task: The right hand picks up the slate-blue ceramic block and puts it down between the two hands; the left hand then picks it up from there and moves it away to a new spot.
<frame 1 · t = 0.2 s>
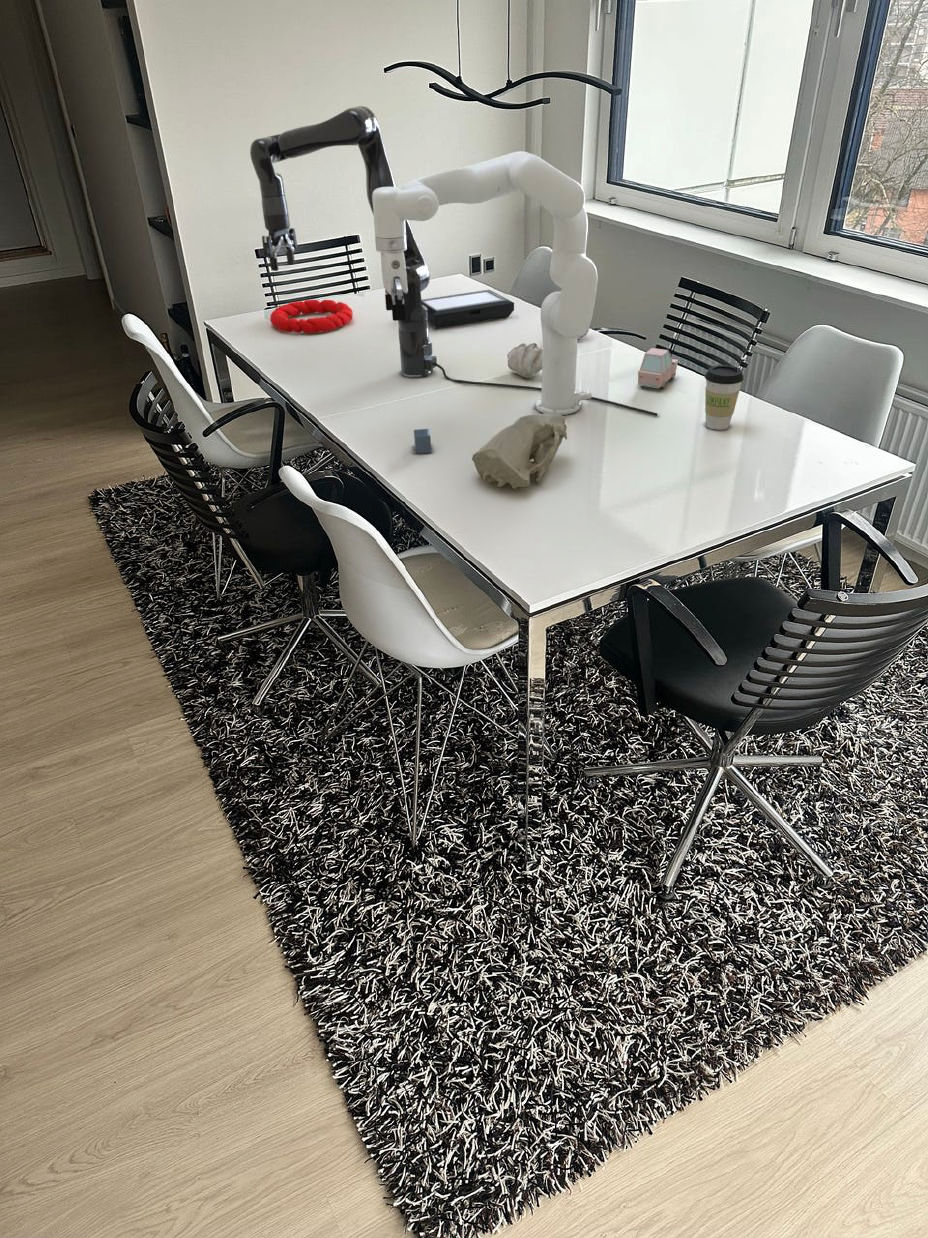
left hand: (283, 267, 280), 29 cm above the table, tool pointing down, fingers open, 8 cm apart
right hand: (395, 314, 227), 31 cm above the table, tool pointing down, fingers open, 9 cm apart
seashell: (528, 376, 276), on the table
decorative ring: (312, 323, 329), on the table
animal skull: (527, 471, 219), on the table
toy car: (656, 382, 268), on the table
block: (422, 449, 232), on the table
coffee cup: (717, 425, 240), on the table
electronic device: (463, 317, 329), on the table
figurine: (574, 337, 306), on the table
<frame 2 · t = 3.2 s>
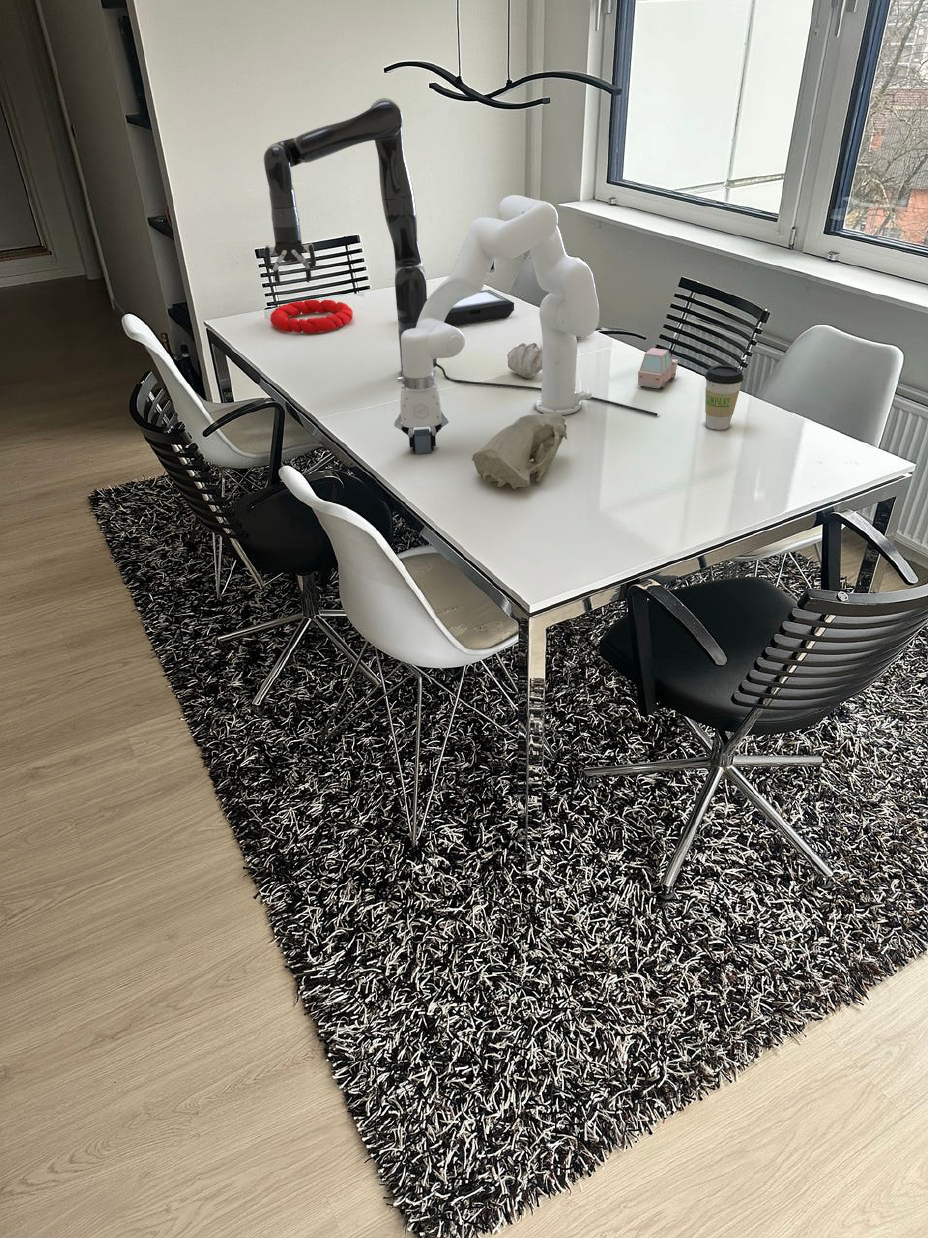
left hand: (293, 282, 262), 29 cm above the table, tool pointing down, fingers open, 8 cm apart
right hand: (422, 448, 232), 0 cm above the table, tool pointing down, fingers closed on block, 4 cm apart
block: (422, 449, 232), on the table, touching right hand
everything else where it was.
when the right hand's fingers open (1 cm above the table, at t = 6.2 s): block stays where it is, on the table.
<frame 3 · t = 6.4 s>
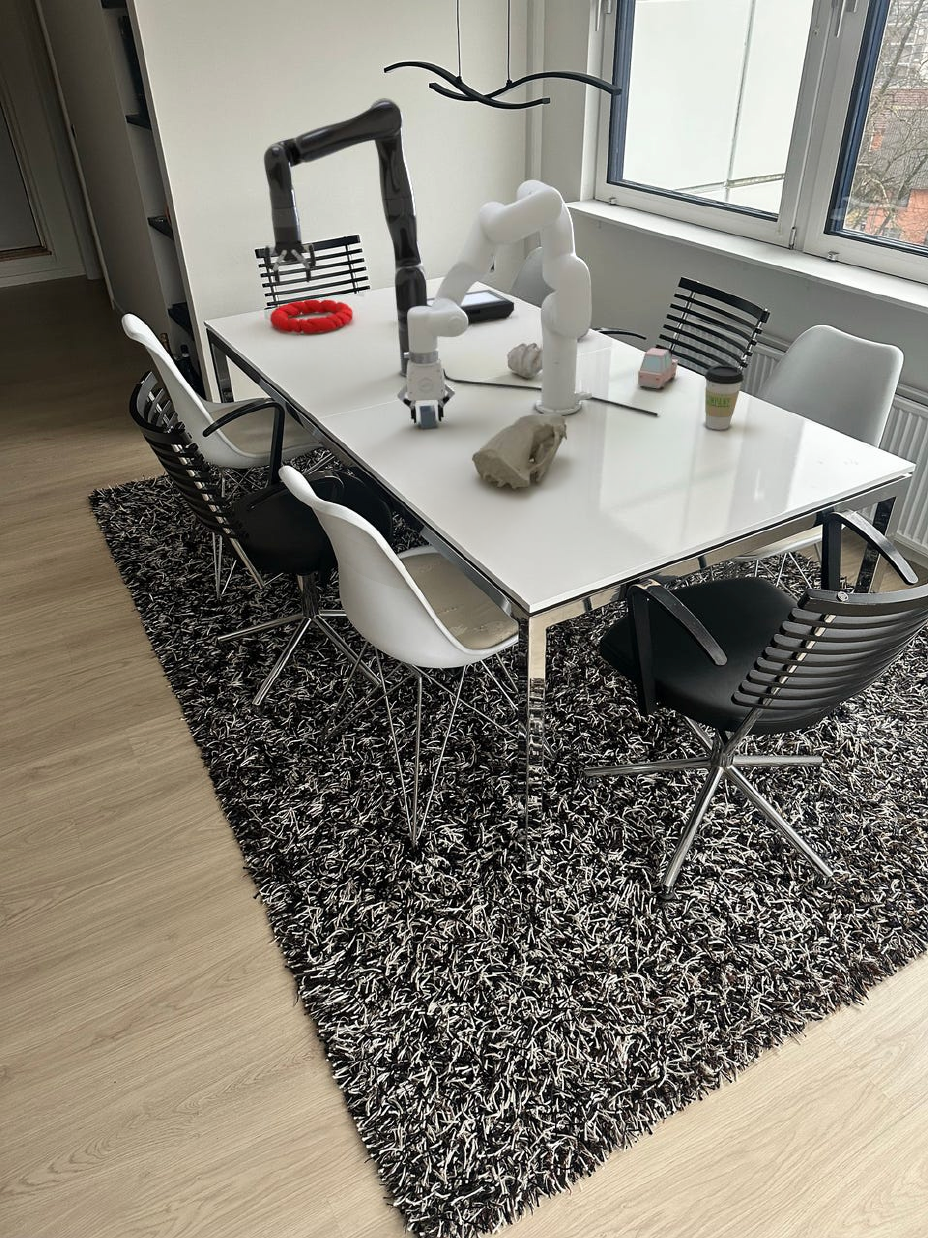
left hand: (293, 282, 262), 29 cm above the table, tool pointing down, fingers open, 8 cm apart
right hand: (427, 419, 245), 2 cm above the table, tool pointing down, fingers open, 6 cm apart
block: (428, 425, 246), on the table
everything else where it was.
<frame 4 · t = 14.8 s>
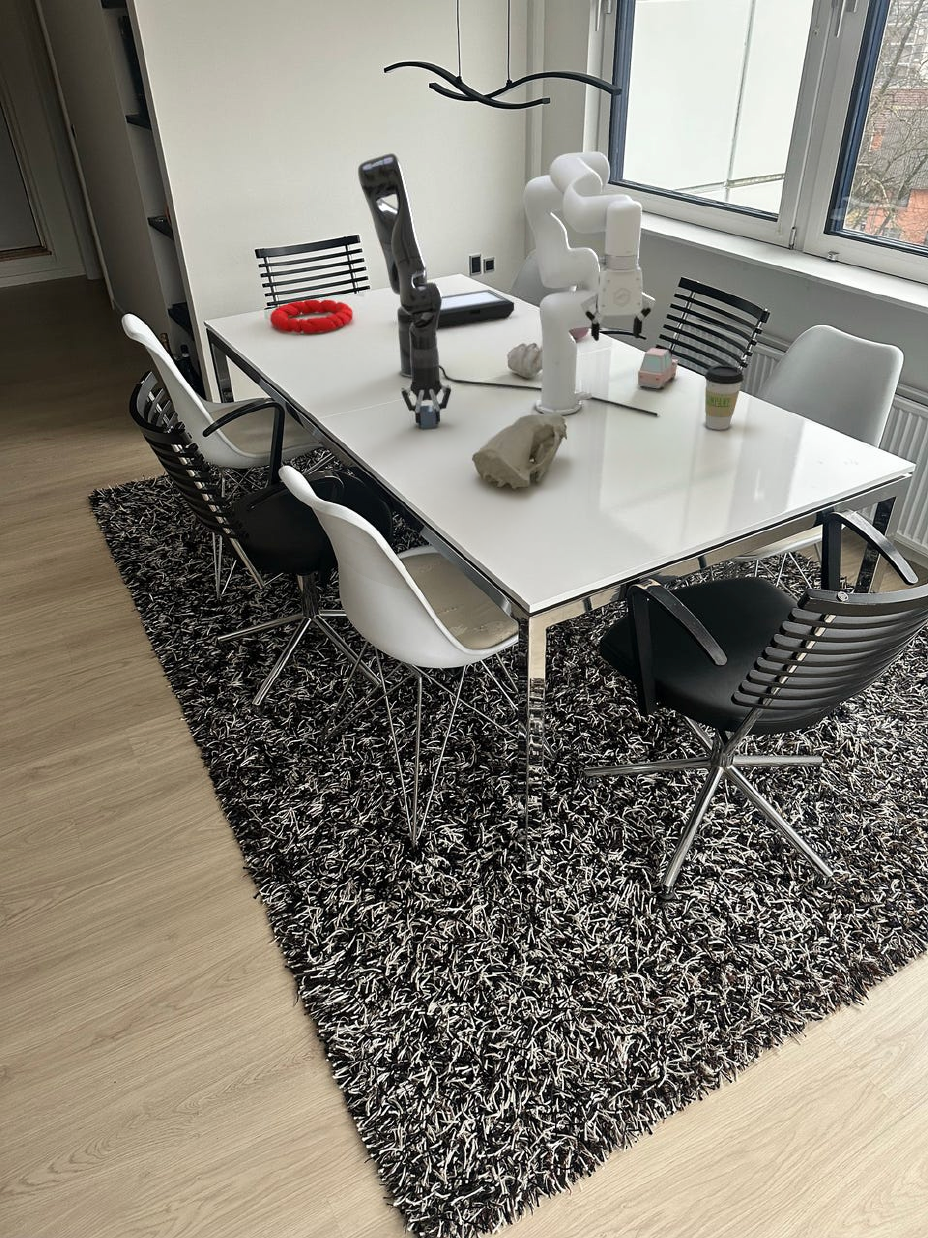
left hand: (428, 423, 245), 1 cm above the table, tool pointing down, fingers closed on block, 4 cm apart
right hand: (615, 337, 210), 30 cm above the table, tool pointing down, fingers open, 9 cm apart
block: (428, 425, 246), on the table, touching left hand
everything else where it was.
when the left hand's fingers open (1 cm above the table, at t = 27.7 s): block stays where it is, on the table.
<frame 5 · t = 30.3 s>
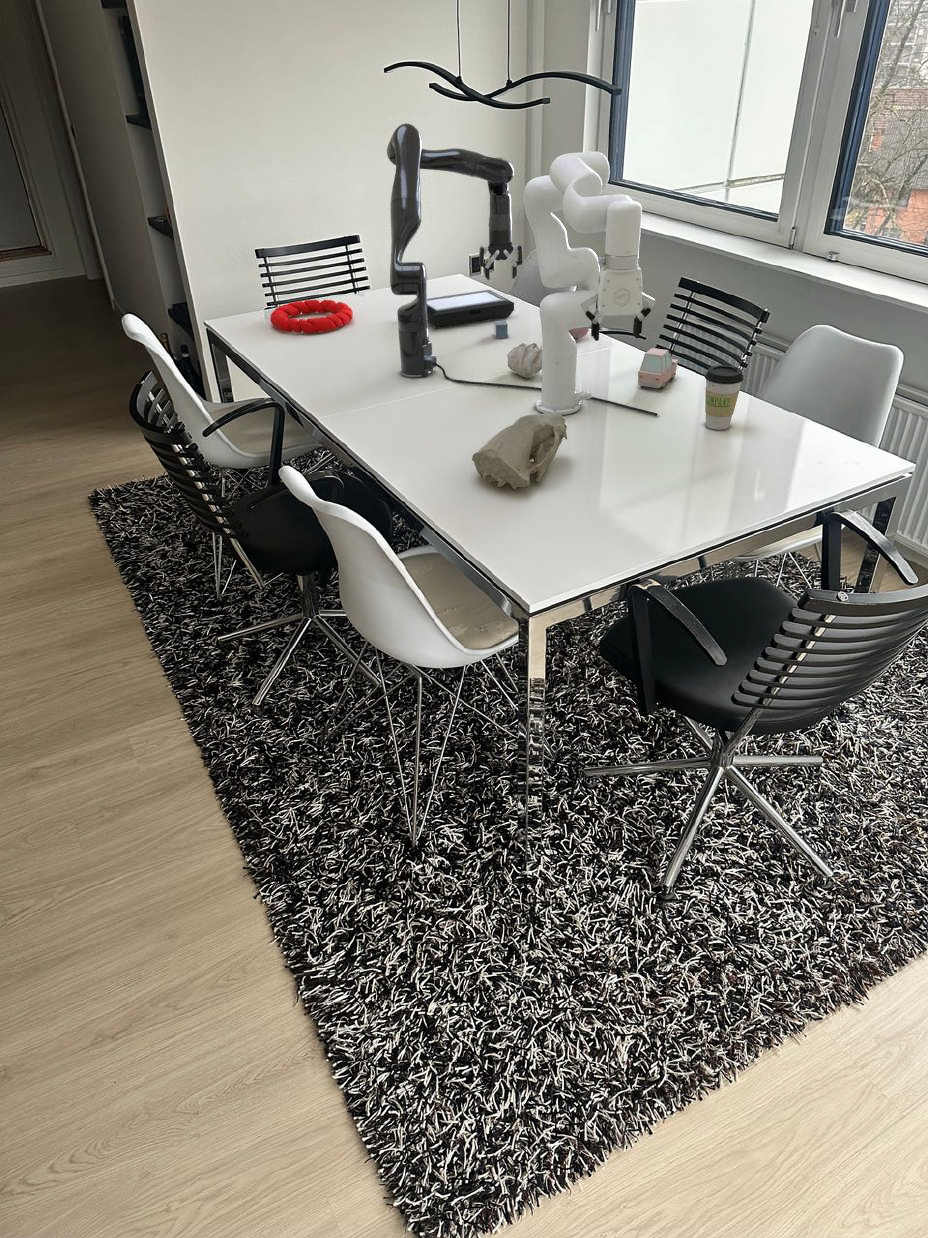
left hand: (500, 278, 299), 19 cm above the table, tool pointing down, fingers open, 8 cm apart
right hand: (615, 337, 210), 30 cm above the table, tool pointing down, fingers open, 9 cm apart
block: (500, 336, 310), on the table
everything else where it was.
at the end: block inside the target area (0.1 cm from its centre), on the table; block tilted 0°; the two hands never held the block at the same time; the left hand is holding nothing; the right hand is holding nothing; block at rest at the end (0.0 cm/s) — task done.
